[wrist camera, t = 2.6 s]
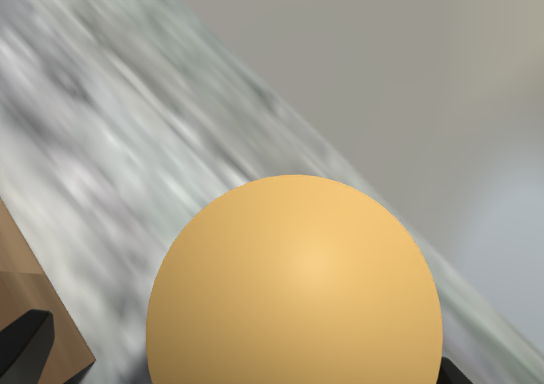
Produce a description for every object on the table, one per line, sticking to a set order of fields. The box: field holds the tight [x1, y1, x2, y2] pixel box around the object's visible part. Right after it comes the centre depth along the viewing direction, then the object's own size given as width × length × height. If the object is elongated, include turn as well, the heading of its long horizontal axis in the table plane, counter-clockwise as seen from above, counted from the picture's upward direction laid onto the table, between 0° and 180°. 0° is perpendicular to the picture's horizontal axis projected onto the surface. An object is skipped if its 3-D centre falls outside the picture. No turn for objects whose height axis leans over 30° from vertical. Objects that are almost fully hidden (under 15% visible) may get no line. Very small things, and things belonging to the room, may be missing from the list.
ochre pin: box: [146, 175, 443, 384], centre depth 11 cm, size 4×4×13 cm
